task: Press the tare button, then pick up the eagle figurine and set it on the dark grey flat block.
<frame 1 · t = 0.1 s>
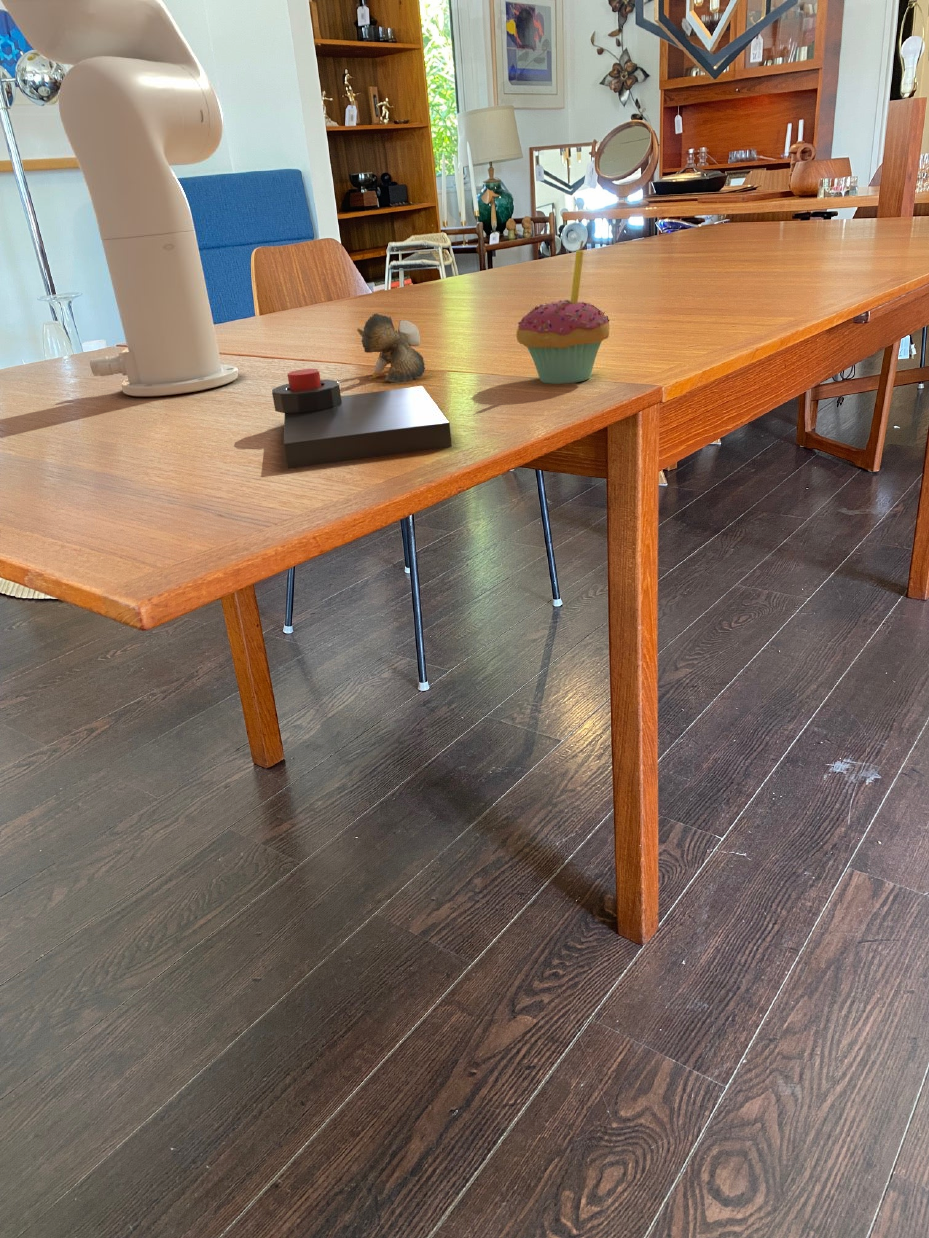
dark grey flat block: (363, 435, 72), on the table
cupcake: (564, 381, 86), on the table
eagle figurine: (393, 377, 96), on the table
tare button: (304, 381, 75), point 4 cm above the table, slide at 0.1 cm
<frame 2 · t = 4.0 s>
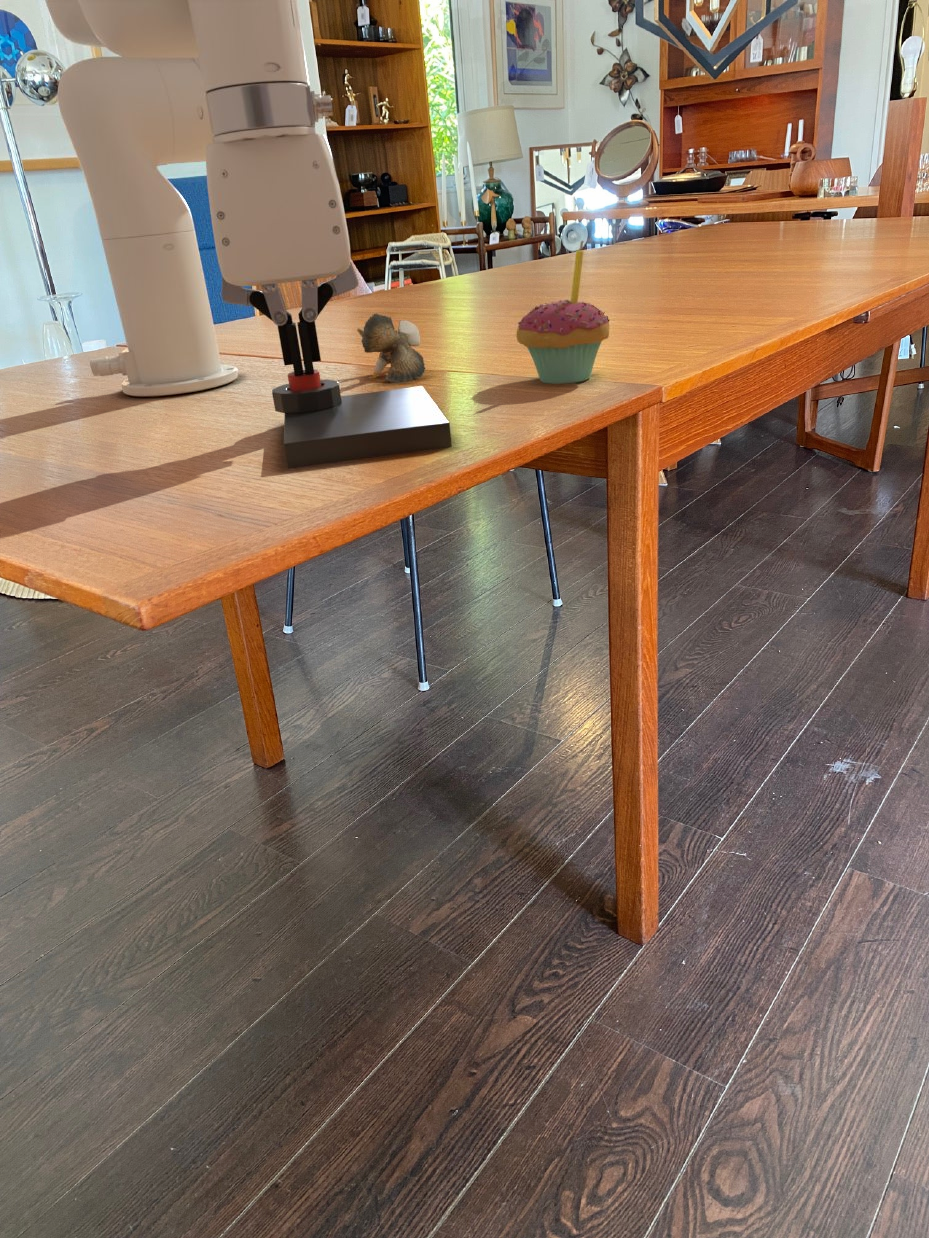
hand: (304, 372, 74), 5 cm above the table, tool pointing down, fingers closed
tare button: (304, 382, 75), point 4 cm above the table, slide at 0.1 cm, touching gripper
everything else where it was.
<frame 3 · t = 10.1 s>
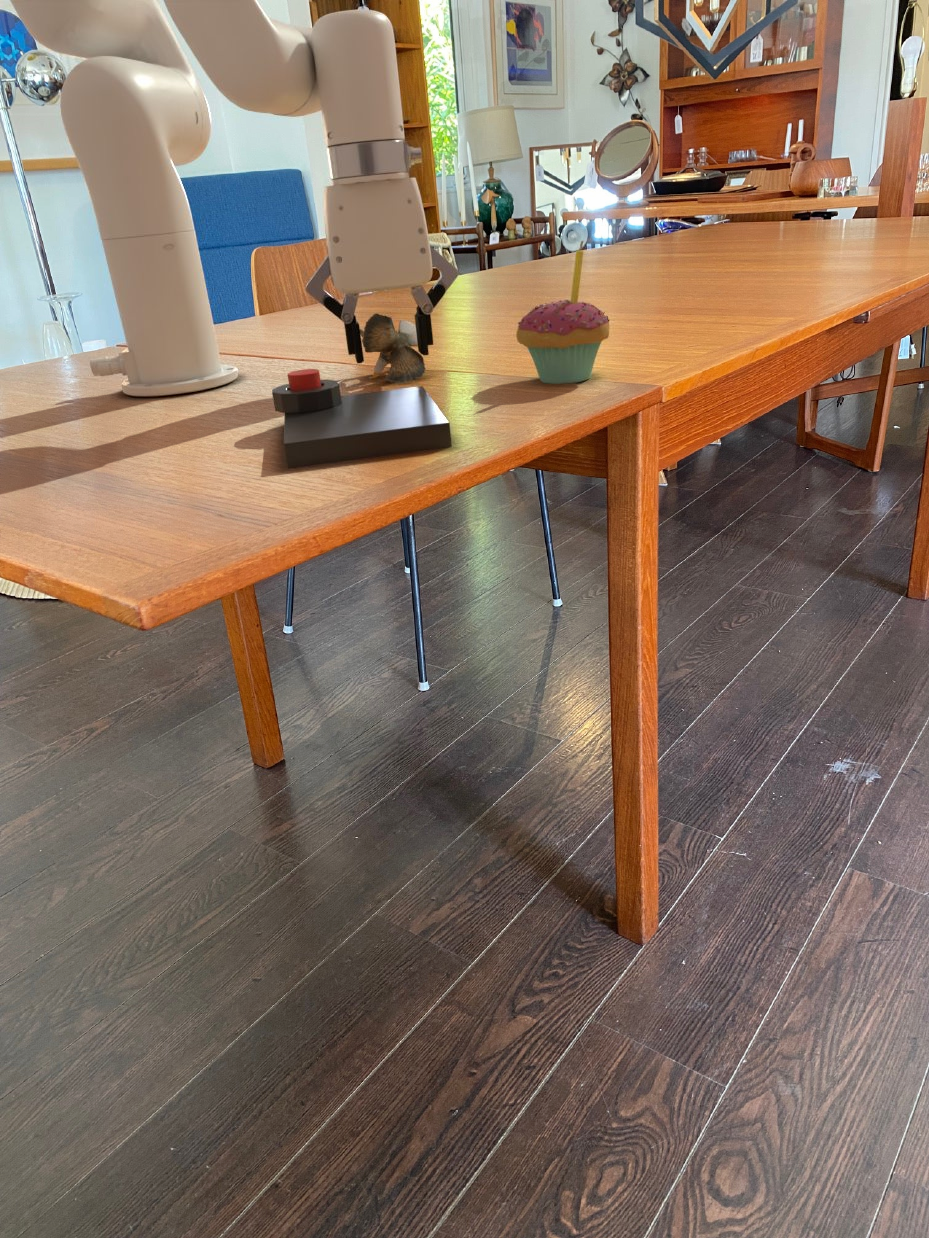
hand: (391, 355, 95), 2 cm above the table, tool pointing down, fingers closed on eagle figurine, 6 cm apart
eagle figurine: (393, 377, 96), on the table, touching gripper
tare button: (304, 381, 75), point 4 cm above the table, slide at 0.1 cm
everything else where it was.
when the fingers open (4 cm above the table, at t = 18.1 s): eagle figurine stays where it is, resting on dark grey flat block.
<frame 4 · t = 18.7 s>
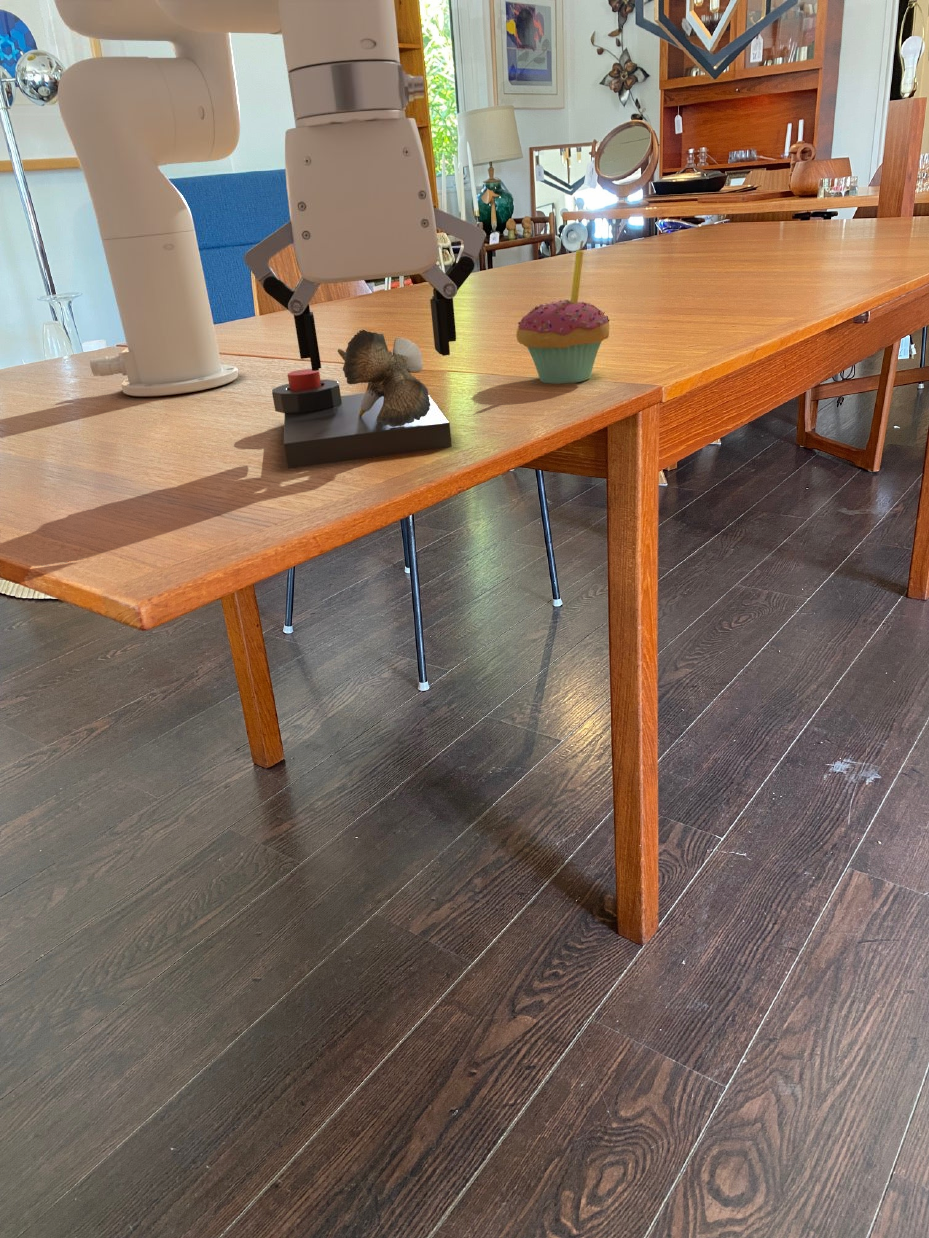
hand: (379, 360, 68), 6 cm above the table, tool pointing down, fingers open, 9 cm apart
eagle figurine: (387, 416, 70), point 2 cm above the table, touching dark grey flat block
everything else where it was.
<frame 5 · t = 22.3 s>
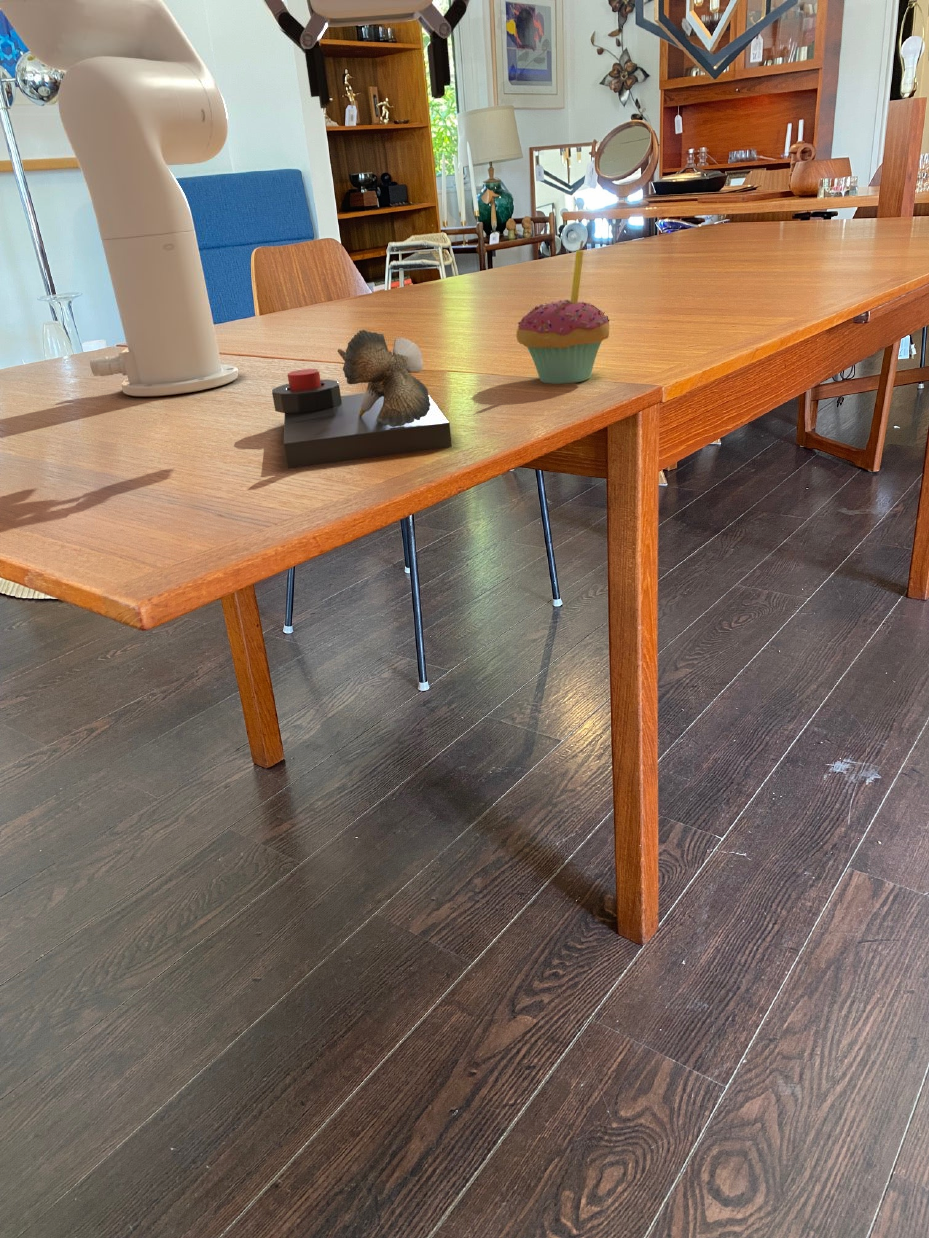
hand: (382, 101, 76), 24 cm above the table, tool pointing down, fingers open, 9 cm apart
nothing on the table moved.
at the end: tare button pushed in 0.9 cm at the most during the clip, back to where it started at the end; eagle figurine inside the target area on the dark grey flat block (2.4 cm from its centre), point 1.7 cm above the dark grey flat block's base; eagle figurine touching dark grey flat block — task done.
